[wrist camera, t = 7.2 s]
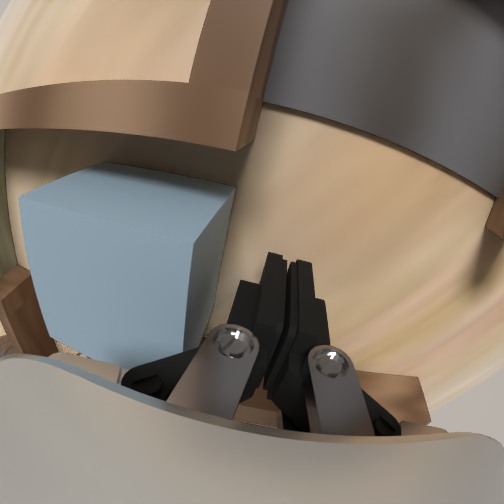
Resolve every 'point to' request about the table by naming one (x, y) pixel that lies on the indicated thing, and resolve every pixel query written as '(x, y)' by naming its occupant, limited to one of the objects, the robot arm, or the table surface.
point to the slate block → (126, 259)
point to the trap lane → (303, 99)
